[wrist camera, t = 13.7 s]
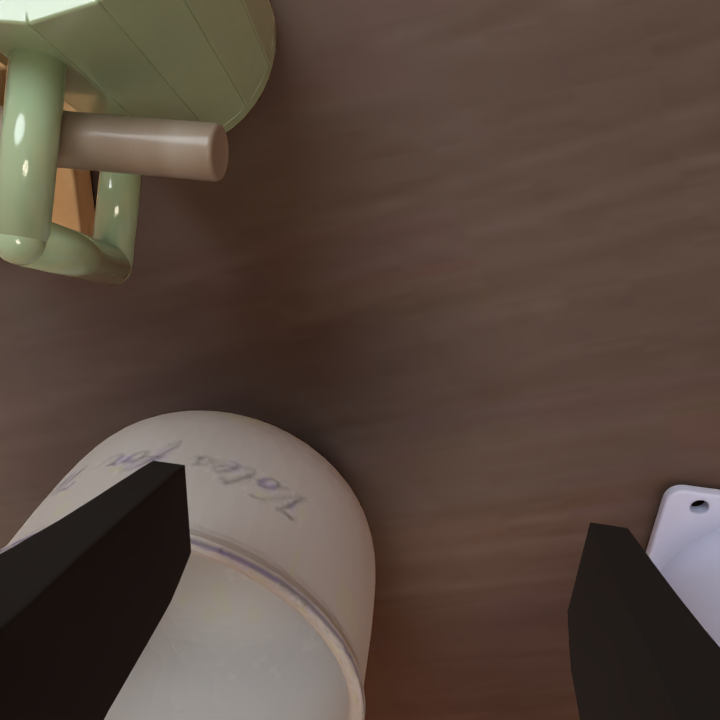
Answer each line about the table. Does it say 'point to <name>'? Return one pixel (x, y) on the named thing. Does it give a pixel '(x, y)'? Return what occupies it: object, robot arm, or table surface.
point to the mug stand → (127, 155)
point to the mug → (112, 106)
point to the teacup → (244, 574)
